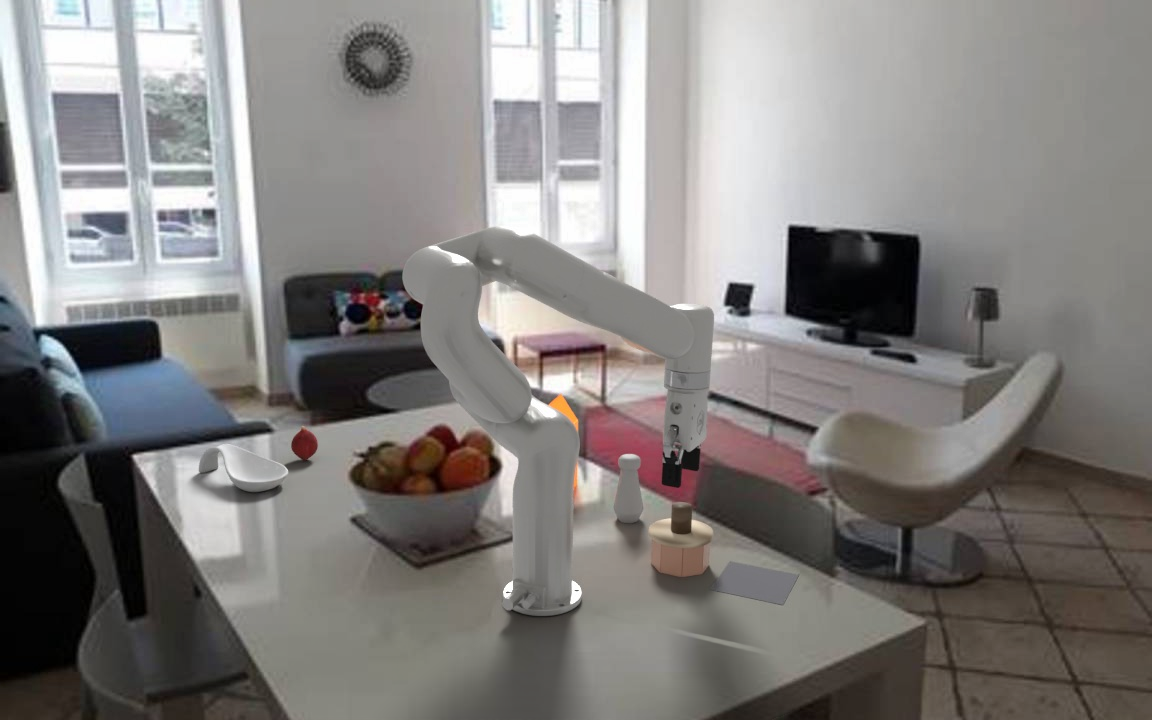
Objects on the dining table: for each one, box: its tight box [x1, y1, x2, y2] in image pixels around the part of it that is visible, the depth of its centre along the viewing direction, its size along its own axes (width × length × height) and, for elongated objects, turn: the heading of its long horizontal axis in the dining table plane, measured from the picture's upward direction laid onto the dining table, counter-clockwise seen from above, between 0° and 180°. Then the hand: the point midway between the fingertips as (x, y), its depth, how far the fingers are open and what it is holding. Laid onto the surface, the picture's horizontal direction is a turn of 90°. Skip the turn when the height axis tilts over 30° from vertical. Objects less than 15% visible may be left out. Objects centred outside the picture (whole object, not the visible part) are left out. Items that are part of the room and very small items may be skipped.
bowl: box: [650, 539, 711, 578], centre depth 162 cm, size 9×9×6 cm
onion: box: [290, 425, 319, 461], centre depth 214 cm, size 6×6×8 cm
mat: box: [709, 560, 800, 606], centre depth 156 cm, size 12×12×1 cm
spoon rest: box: [198, 443, 289, 493], centre depth 200 cm, size 24×12×7 cm, turn 57°
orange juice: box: [548, 393, 579, 489], centre depth 197 cm, size 8×9×20 cm
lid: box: [648, 501, 714, 548], centre depth 161 cm, size 11×11×5 cm
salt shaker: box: [613, 453, 645, 524], centre depth 182 cm, size 6×6×13 cm
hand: (680, 477), depth 159 cm, fingers open, 9 cm apart
